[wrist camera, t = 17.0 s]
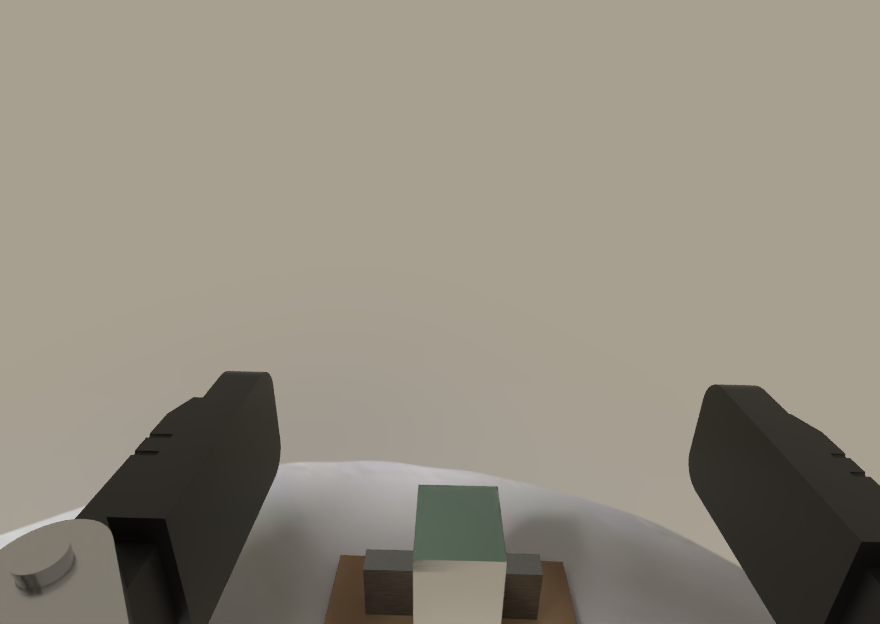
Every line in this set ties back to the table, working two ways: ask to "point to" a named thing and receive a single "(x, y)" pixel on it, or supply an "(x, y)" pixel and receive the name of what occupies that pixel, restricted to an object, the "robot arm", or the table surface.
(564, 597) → the mounting board
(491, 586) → the block
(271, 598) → the table surface
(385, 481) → the table surface
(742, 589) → the table surface
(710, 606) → the table surface
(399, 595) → the block
